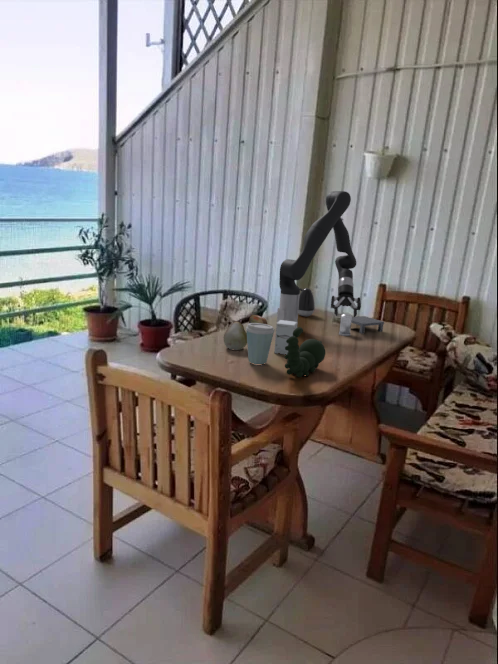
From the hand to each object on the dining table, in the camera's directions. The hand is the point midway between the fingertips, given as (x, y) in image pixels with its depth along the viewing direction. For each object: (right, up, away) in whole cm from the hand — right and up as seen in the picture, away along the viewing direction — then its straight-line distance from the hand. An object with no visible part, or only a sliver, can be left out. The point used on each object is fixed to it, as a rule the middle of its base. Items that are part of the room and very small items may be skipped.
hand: (345, 315), depth 242 cm
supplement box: (-32, -16, -37) cm, 51 cm away
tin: (-42, -9, -9) cm, 44 cm away
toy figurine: (-27, -23, -61) cm, 70 cm away
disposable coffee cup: (-43, -20, -53) cm, 71 cm away
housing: (-1, -9, -1) cm, 9 cm away
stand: (+11, -7, +11) cm, 16 cm away
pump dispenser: (-16, +1, +37) cm, 40 cm away
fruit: (-52, -15, -36) cm, 65 cm away
